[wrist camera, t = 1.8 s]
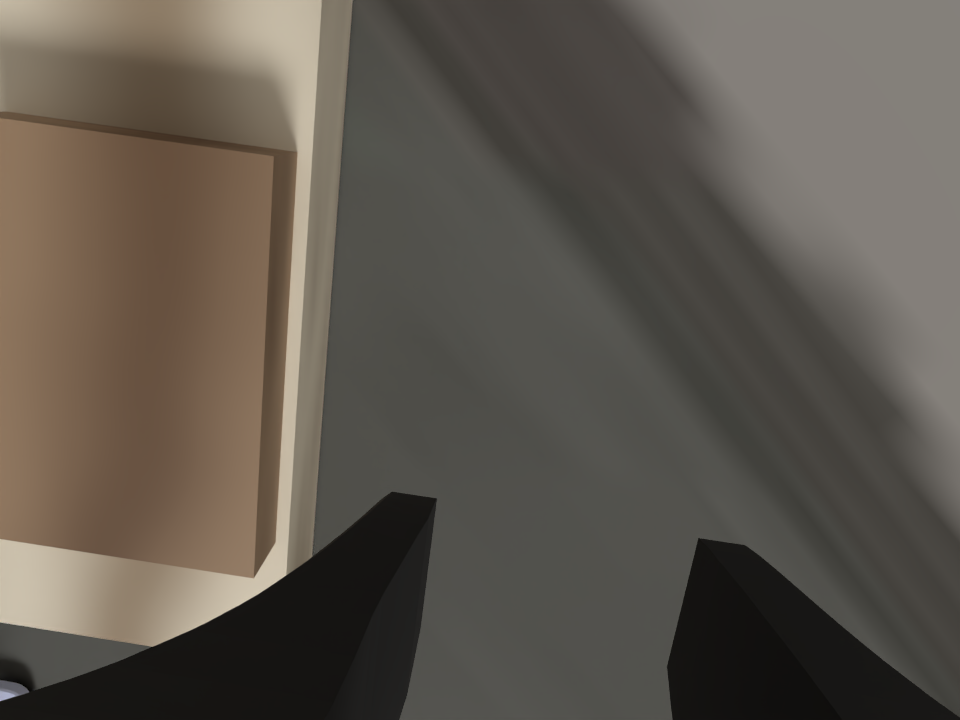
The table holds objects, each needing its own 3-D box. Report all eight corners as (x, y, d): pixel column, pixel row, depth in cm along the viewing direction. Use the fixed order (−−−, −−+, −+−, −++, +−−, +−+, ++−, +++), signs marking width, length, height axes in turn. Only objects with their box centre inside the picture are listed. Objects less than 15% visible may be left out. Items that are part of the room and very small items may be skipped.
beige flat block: (47, 565, 22) (-12, 620, 20) (18, -62, 17) (-65, -89, 15) (308, 606, 22) (280, 666, 20) (353, -17, 17) (323, -38, 15)
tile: (28, 504, 19) (-15, 537, 17) (7, 111, 16) (-45, 111, 15) (275, 542, 19) (253, 578, 17) (297, 152, 16) (273, 155, 14)
